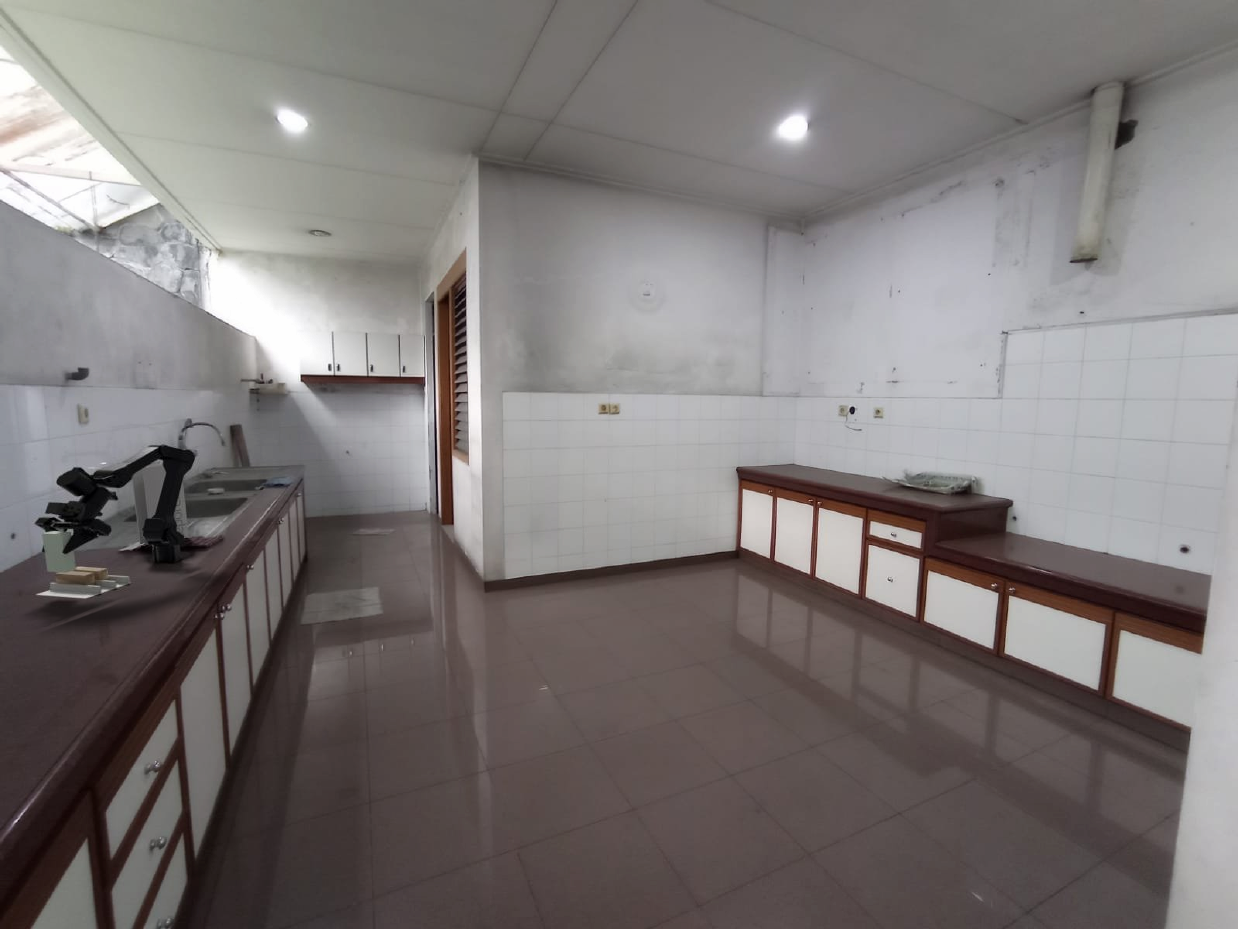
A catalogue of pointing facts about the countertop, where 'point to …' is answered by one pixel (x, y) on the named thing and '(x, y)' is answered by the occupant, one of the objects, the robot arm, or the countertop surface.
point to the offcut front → (95, 572)
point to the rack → (86, 587)
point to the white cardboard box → (155, 498)
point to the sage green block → (58, 552)
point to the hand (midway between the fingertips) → (53, 553)
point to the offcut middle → (75, 578)
